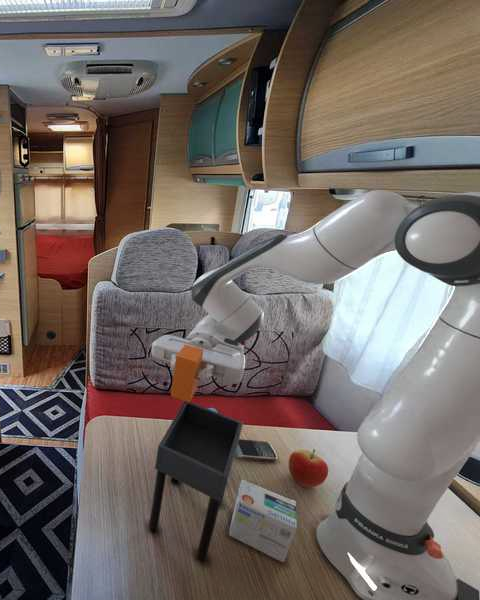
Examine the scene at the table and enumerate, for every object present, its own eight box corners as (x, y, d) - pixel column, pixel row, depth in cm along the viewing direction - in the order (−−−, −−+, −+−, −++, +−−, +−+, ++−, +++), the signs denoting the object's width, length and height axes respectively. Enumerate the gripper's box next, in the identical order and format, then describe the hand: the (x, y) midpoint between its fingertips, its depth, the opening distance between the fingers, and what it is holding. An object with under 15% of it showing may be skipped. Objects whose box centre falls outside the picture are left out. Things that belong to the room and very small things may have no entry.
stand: (222, 501, 78) (236, 444, 72) (204, 564, 66) (220, 501, 59) (172, 476, 84) (181, 421, 78) (147, 529, 72) (156, 468, 65)
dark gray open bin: (238, 444, 72) (243, 422, 69) (221, 502, 59) (227, 478, 57) (181, 420, 78) (184, 400, 76) (155, 468, 65) (158, 445, 63)
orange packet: (197, 388, 73) (203, 349, 69) (189, 403, 68) (195, 361, 65) (179, 382, 75) (185, 344, 72) (170, 396, 70) (176, 355, 67)
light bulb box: (284, 535, 71) (297, 500, 67) (284, 565, 66) (298, 528, 62) (231, 510, 76) (241, 476, 72) (227, 536, 71) (237, 501, 67)
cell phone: (278, 462, 89) (279, 458, 89) (236, 459, 90) (237, 455, 89) (268, 445, 95) (269, 441, 94) (229, 441, 96) (229, 438, 95)
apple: (279, 479, 84) (289, 449, 81) (290, 462, 89) (300, 434, 86) (315, 501, 79) (328, 471, 75) (325, 482, 84) (337, 453, 80)
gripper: (163, 324, 84) (142, 345, 73) (251, 346, 74) (240, 375, 63) (161, 345, 86) (139, 369, 76) (245, 370, 76) (234, 402, 65)
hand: (186, 372), depth 69 cm, fingers closed on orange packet, 4 cm apart
